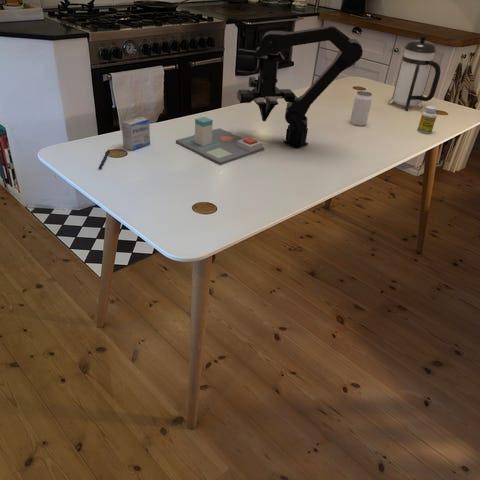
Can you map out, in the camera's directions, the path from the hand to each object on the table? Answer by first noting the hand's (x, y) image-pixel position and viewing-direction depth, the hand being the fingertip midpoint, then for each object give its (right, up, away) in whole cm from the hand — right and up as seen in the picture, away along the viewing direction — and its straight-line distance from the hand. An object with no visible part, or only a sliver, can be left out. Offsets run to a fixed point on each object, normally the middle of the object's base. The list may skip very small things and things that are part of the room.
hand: (263, 121), depth 158 cm
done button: (-5, -9, -4) cm, 11 cm away
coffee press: (+67, +19, +49) cm, 85 cm away
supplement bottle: (+64, +2, +23) cm, 68 cm away
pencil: (-49, -17, -17) cm, 55 cm away
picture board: (-15, -9, -3) cm, 18 cm away
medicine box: (-42, -10, -7) cm, 44 cm away
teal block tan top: (-20, -8, -4) cm, 22 cm away
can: (+39, +5, +26) cm, 47 cm away
